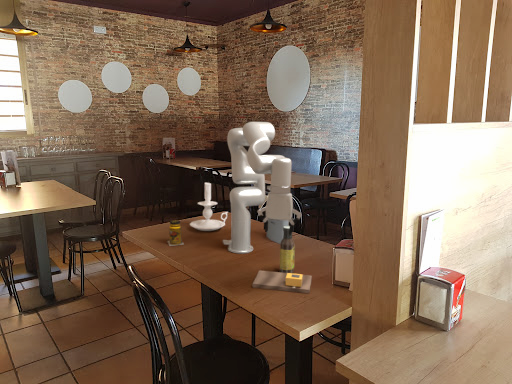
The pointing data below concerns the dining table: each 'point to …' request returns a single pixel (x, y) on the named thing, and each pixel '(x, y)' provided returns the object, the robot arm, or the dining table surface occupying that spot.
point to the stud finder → (294, 279)
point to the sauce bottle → (287, 252)
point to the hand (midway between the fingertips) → (278, 232)
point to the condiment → (175, 233)
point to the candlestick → (208, 214)
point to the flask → (276, 229)
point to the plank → (280, 282)
